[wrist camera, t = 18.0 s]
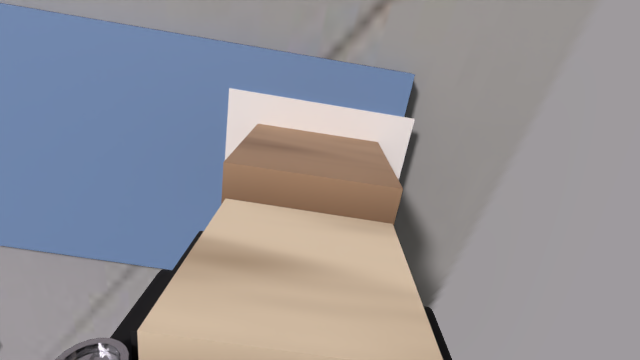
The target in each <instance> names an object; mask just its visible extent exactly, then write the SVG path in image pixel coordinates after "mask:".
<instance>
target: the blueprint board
mask: <svg viewBox="0 0 640 360" xmlns="http://www.w3.org/2000/svg"><path fill="white" fill-rule="evenodd" d="M414 76H415V75H414V74H411V73H406V72H400V71H394V70H389V69H383V68H377V67H371V66H365V65H359V64H354V63H348V62H342V61H336V60H330V59H324V58H319V57H313V56H307V55H301V54H295V53H289V52H284V51H278V50H272V49H266V48H260V47H254V46H249V45H243V44H237V43H231V42H225V41H219V40H214V39H208V38H202V37H196V36H190V35H184V34H179V33H173V32H167V31H161V30H155V29H149V28H144V27H138V26H132V25H126V24H120V23H114V22H109V21H103V20H97V19H91V18H85V17H79V16H74V15H68V14H62V13H56V12H50V11H44V10H39V9H33V8H27V7H21V6H15V5H9V4H4V3H0V246H7V247H14V248H21V249H28V250H35V251H42V252H49V253H56V254H63V255H70V256H77V257H84V258H91V259H98V260H105V261H112V262H119V263H126V264H133V265H140V266H147V267H154V268H161V269H168V270H173V268H174V267H175V266H176V264H177V263H178V261H179V260H180V258H181V257H182V255H183V254H184V252H185V251H186V250H187V248H188V247H189V245H190V244H191V242H192V241H193V239H194V238H195V237H196V235H197V234H198V232H199V231H204V230H205V229H206V227H207V226H208V224H209V223H210V221H211V220H212V218H213V217H214V215H215V214H216V212H217V211H218V209H219V208H220V206H221V199H222V180H223V162H224V161H225V160H226V159H227V158H228V156H229V155H230V154H231V153H232V152H233V151H234V150H235V149H236V147H237V146H238V145H239V144H240V143H241V142H242V141H243V140H244V139H245V137H246V136H247V135H248V134H249V133H250V132H251V131H252V130H253V128H254V127H255V126H256V125H257V124H264V125H271V126H277V127H284V128H290V129H297V130H303V131H310V132H316V133H323V134H329V135H336V136H342V137H349V138H355V139H362V140H368V141H375V142H378V143H379V145H380V147H381V149H382V150H383V152H384V154H385V156H386V158H387V160H388V162H389V164H390V165H391V167H392V169H393V171H394V173H395V175H396V177H397V178H398V180H399V177H400V173H401V169H402V166H403V162H404V158H405V154H406V150H407V147H408V143H409V139H410V135H411V131H412V128H413V124H414V120H415V119H413V118H407V117H404V116H405V112H406V108H407V104H408V100H409V96H410V92H411V88H412V84H413V80H414Z"/></svg>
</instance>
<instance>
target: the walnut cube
mask: <svg viewBox="0 0 640 360" xmlns="http://www.w3.org/2000/svg"><path fill="white" fill-rule="evenodd" d="M402 191H403V188H402V186H401V184H400V182H399V180H398V178H397V177H396V175H395V173H394V171H393V169H392V167H391V165H390V164H389V162H388V160H387V158H386V156H385V154H384V152H383V150H382V149H381V147H380V145H379V143H378V142H375V141H368V140H362V139H355V138H349V137H342V136H336V135H329V134H323V133H316V132H310V131H303V130H297V129H290V128H284V127H277V126H271V125H264V124H257V125H256V126H255V127H254V128H253V130H252V131H251V132H250V133H249V134H248V135H247V136H246V137H245V139H244V140H243V141H242V142H241V143H240V144H239V145H238V146H237V147H236V149H235V150H234V151H233V152H232V153H231V154H230V155H229V156H228V158H227V159H226V160H225V161H224V162H223V180H222V199H221V205H222V203H223V202H224V200H225V199H232V200H239V201H246V202H252V203H259V204H265V205H272V206H278V207H285V208H291V209H298V210H304V211H311V212H318V213H324V214H331V215H337V216H344V217H350V218H357V219H363V220H370V221H377V222H383V223H390V224H393V226H394V222H395V218H396V214H397V210H398V207H399V203H400V199H401V195H402Z"/></svg>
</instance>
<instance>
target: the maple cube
mask: <svg viewBox="0 0 640 360" xmlns="http://www.w3.org/2000/svg"><path fill="white" fill-rule="evenodd" d="M137 337H138V358H139V360H443V358H442V355H441V353H440V350H439V347H438V345H437V342H436V339H435V337H434V334H433V331H432V329H431V326H430V323H429V320H428V318H427V315H426V312H425V310H424V307H423V304H422V302H421V299H420V296H419V294H418V291H417V288H416V285H415V283H414V280H413V277H412V275H411V272H410V269H409V267H408V264H407V261H406V259H405V256H404V253H403V250H402V248H401V245H400V242H399V240H398V237H397V234H396V232H395V229H394V226H393V224H390V223H383V222H377V221H370V220H363V219H357V218H350V217H344V216H337V215H331V214H324V213H318V212H311V211H304V210H298V209H291V208H285V207H278V206H272V205H265V204H259V203H252V202H246V201H239V200H232V199H225V200H224V202H223V203H222V205H221V206H220V208H219V209H218V211H217V212H216V214H215V215H214V217H213V218H212V220H211V221H210V223H209V224H208V226H207V227H206V229H205V230H204V232H203V233H202V235H201V236H200V238H199V239H198V241H197V242H196V244H195V245H194V247H193V248H192V250H191V251H190V253H189V254H188V256H187V257H186V258H185V260H184V261H183V263H182V264H181V266H180V267H179V269H178V270H177V272H176V273H175V275H174V276H173V278H172V279H171V281H170V282H169V284H168V285H167V287H166V288H165V290H164V291H163V293H162V294H161V296H160V297H159V299H158V300H157V302H156V303H155V305H154V306H153V308H152V309H151V311H150V312H149V314H148V315H147V317H146V318H145V320H144V321H143V323H142V324H141V326H140V327H139V329H138V330H137Z"/></svg>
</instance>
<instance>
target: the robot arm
mask: <svg viewBox="0 0 640 360" xmlns="http://www.w3.org/2000/svg"><path fill="white" fill-rule="evenodd" d="M203 232H204V231H199V232H198V234H197V235H196V237H195V238H194V239H193V241H192V242H191V244H190V245H189V247H188V248H187V250H186V251H185V252H184V254H183V255H182V257H181V258H180V260H179V261H178V263H177V264H176V266H175V267H174V268H173V270H165V269H163V270H161V271H160V272H159V273H158V274H157V275H156V277H155V278H154V279H153V281H152V282H151V284H150V285H149V286H148V288H147V289H146V290H145V292H144V293H143V294H142V296H141V297H140V298H139V300H138V301H137V302H136V304H135V305H134V306H133V308H132V309H131V310H130V312H129V313H128V314H127V316H126V317H125V319H124V320H123V321H122V323H121V324H120V325H119V327H118V328H117V329H116V331H115V332H114V333H113V335H112V336H111V337H110V338H96V339H90V340H87V341H84V342H81V343H78V344H76V345H74V346H73V347H71V348H69V349H67V350H66V351H64V352H63V353H62V354H61V355H60V356H58V357H57V358H56V359H55V360H139V358H138V337H137V330H138V329H139V327H140V326H141V324H142V323H143V321H144V320H145V318H146V317H147V315H148V314H149V312H150V311H151V309H152V308H153V306H154V305H155V303H156V302H157V300H158V299H159V297H160V296H161V294H162V293H163V291H164V290H165V288H166V287H167V285H168V284H169V282H170V281H171V279H172V278H173V276H174V275H175V273H176V272H177V270H178V269H179V267H180V266H181V264H182V263H183V261H184V260H185V258H186V257H187V256H188V254H189V253H190V251H191V250H192V248H193V247H194V245H195V244H196V242H197V241H198V239H199V238H200V236H201V235H202V233H203ZM407 264H408V263H407ZM408 267H409V265H408ZM409 269H410V268H409ZM410 272H411V271H410ZM411 275H412V273H411ZM412 277H413V276H412ZM413 280H414V279H413ZM414 283H415V281H414ZM415 285H416V284H415ZM416 288H417V287H416ZM417 291H418V289H417ZM418 294H419V292H418ZM419 296H420V295H419ZM420 299H421V297H420ZM421 302H422V300H421ZM422 304H423V303H422ZM423 307H424V306H423ZM424 310H425V312H426V315H427V318H428V320H429V323H430V326H431V329H432V331H433V334H434V337H435V339H436V342H437V345H438V347H439V350H440V353H441V355H442V358H443V360H452V358H451V356H450V353H449V351H448V348H447V346H446V343H445V341H444V338H443V336H442V333H441V331H440V328H439V326H438V323H437V321H436V318H435V316H434V313H433V311H432V309H431V308H429V307H424Z"/></svg>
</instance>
